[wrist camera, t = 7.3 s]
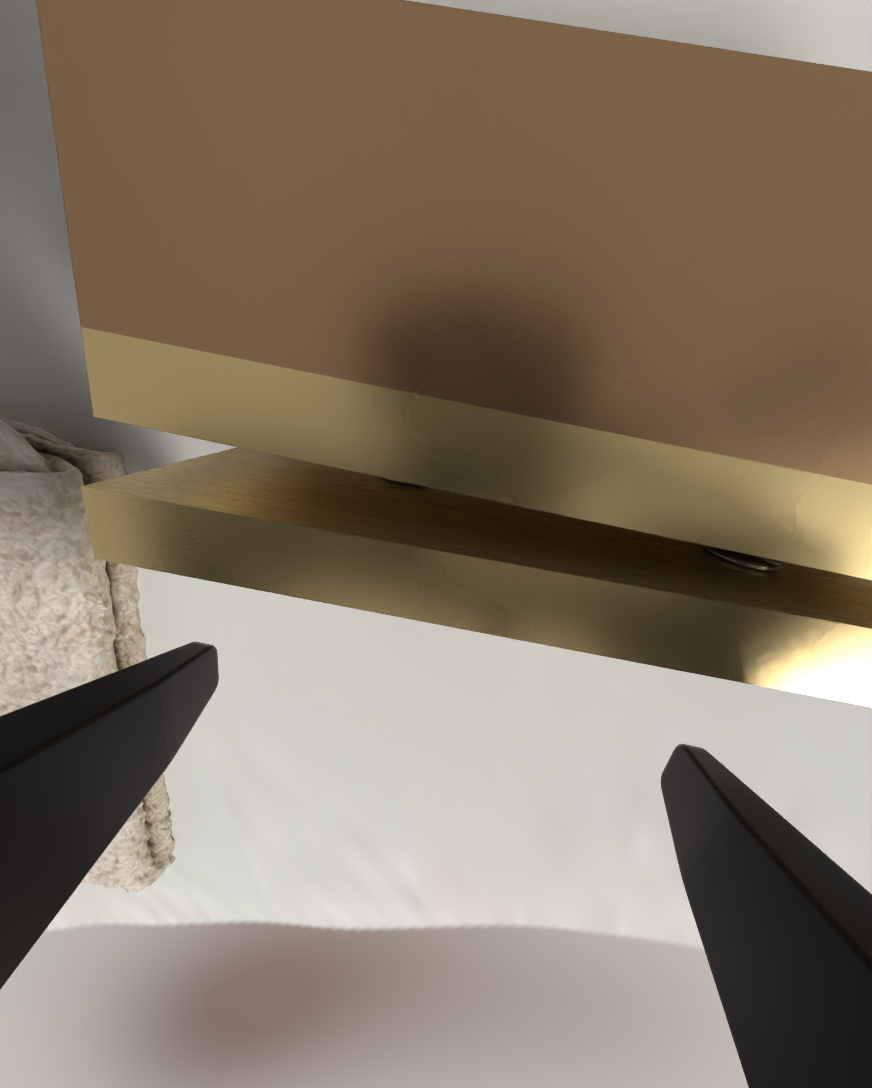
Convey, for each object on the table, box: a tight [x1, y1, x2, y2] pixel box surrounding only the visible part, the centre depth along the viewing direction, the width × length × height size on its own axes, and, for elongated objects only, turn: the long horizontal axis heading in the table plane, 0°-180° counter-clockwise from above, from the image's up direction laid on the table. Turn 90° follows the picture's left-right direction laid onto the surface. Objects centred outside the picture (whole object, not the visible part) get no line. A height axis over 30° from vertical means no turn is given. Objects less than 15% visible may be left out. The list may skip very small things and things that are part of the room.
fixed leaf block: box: [36, 0, 872, 580], centre depth 6 cm, size 12×4×5 cm, turn 79°
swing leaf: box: [80, 447, 872, 707], centre depth 7 cm, size 15×3×6 cm, turn 82°
